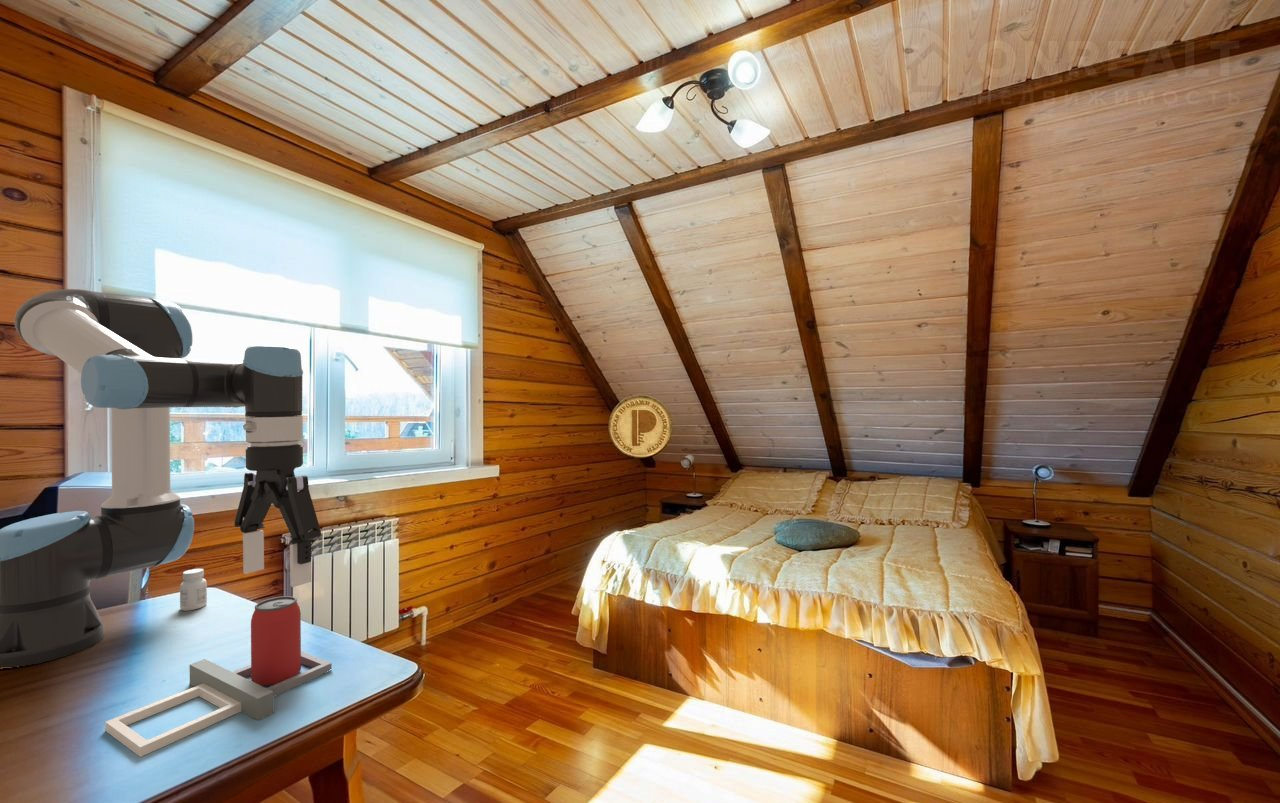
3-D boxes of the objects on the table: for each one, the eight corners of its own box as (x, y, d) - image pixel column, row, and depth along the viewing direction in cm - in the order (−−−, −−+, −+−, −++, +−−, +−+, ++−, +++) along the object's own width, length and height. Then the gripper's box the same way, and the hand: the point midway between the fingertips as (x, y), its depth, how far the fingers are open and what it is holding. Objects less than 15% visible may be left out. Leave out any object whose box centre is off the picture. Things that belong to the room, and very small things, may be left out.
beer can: (276, 690, 81) (275, 612, 81) (240, 686, 83) (239, 608, 83) (311, 669, 88) (310, 596, 88) (277, 665, 89) (276, 593, 89)
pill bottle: (208, 601, 117) (207, 566, 117) (205, 608, 114) (204, 571, 114) (182, 605, 115) (181, 570, 115) (178, 612, 111) (177, 575, 111)
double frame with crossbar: (92, 721, 74) (92, 699, 74) (279, 649, 95) (279, 632, 95) (156, 768, 64) (156, 743, 64) (348, 677, 85) (348, 658, 85)
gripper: (208, 443, 88) (210, 572, 88) (294, 448, 76) (296, 598, 76) (259, 440, 94) (260, 560, 94) (345, 444, 82) (347, 582, 82)
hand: (276, 577), depth 85 cm, fingers open, 13 cm apart
